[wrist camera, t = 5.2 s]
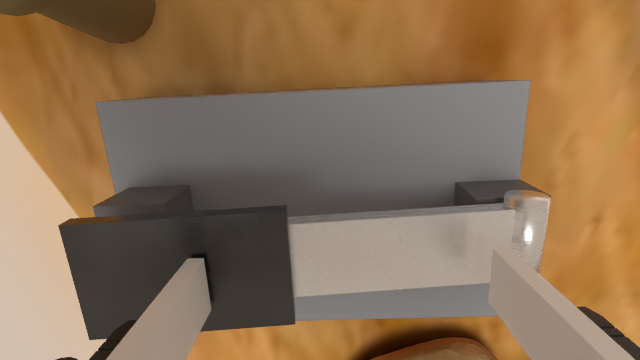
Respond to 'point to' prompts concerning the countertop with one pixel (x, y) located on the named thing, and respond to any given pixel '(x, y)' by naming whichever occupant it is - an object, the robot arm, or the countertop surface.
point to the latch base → (325, 164)
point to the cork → (92, 15)
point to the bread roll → (442, 351)
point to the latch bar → (290, 255)
